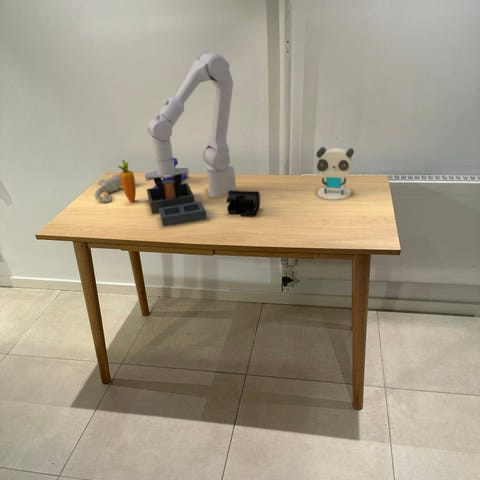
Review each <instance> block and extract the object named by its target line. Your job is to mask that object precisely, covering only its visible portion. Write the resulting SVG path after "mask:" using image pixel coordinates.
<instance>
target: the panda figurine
mask: <svg viewBox="0 0 480 480" xmlns="http://www.w3.org/2000/svg"><path fill="white" fill-rule="evenodd" d="M354 153H355V150H354V148H348V149H344V148H340V147H333V148H329V149H327V148H326V147H324V146H322V147H319V149H318V150H317V152H316V154H315V156H316V157H317V158H318V161H317V164H316V169H317V171H318V173H319V175H320V176H321V177H322V179H321V183H322V184H323V187H320V188H319V189H318V190H317V195H318V196H319V197H320V198H322V199H324V200H325V199H326V200H332V201H333V200H334V201H335V200H336V201H338V200H344V199H346V198H349V197H350V196H351V195H352V191H351V189H350V188H348V187H346V186H347V185H346V184H347V176H348V175H349V174H350V172H351V170H352V168H353V157H352V156H353V155H354Z"/></svg>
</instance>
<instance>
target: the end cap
mask: <svg viewBox="0 0 480 480" xmlns="http://www.w3.org/2000/svg"><path fill="white" fill-rule="evenodd" d="M226 204H228V205H227V207H226V209H227V212H228V213H227V214H228V215H234V216H235V215H236V216H237V215H239V216H241V217H246V218H247V217H248V218H249V217H250V218H255V217H256V216H257V214H258V211H259V210H260V207H261V193H260V191H258V190H237V189H236V190H229V191H228V195H227V198H226Z"/></svg>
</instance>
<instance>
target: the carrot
mask: <svg viewBox="0 0 480 480" xmlns="http://www.w3.org/2000/svg"><path fill="white" fill-rule="evenodd" d="M121 162H122V164H123V165H117V168H119V169H121V170H122V171H121V172H120V173H119V174H120V180H121V184H122V185H121V187H122V190H123V192H124V195H125V197H126V199H127V200H128V201H129V202H130V203H135V200H136V194H137V192H136V182H135V180H136V179H135V175H134V174H135V173H134V172H133V171H132V170H129V162H127V161H126V160H125V159H122V160H121ZM134 179H135V180H134Z"/></svg>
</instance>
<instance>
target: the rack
mask: <svg viewBox="0 0 480 480" xmlns="http://www.w3.org/2000/svg"><path fill="white" fill-rule="evenodd" d="M158 214H159V217H160V221H161V224H162V227H169V226H173V225H179V224H185V223H191V222H197V221H203V220H207V210H206V209H205V206H204V204H203V202H202V201H201V200H200V201H195V202H194V203H187V204H181V205H175V206H169V207H163V208H159V213H158Z"/></svg>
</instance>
